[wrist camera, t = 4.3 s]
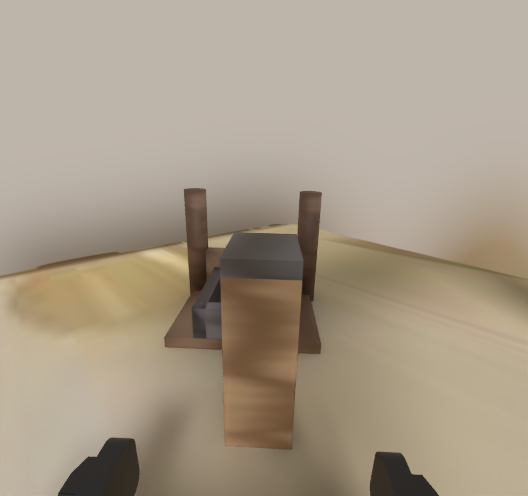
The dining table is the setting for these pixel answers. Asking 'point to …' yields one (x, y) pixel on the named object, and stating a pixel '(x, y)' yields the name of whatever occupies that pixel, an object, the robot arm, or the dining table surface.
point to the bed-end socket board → (208, 278)
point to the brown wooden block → (260, 337)
